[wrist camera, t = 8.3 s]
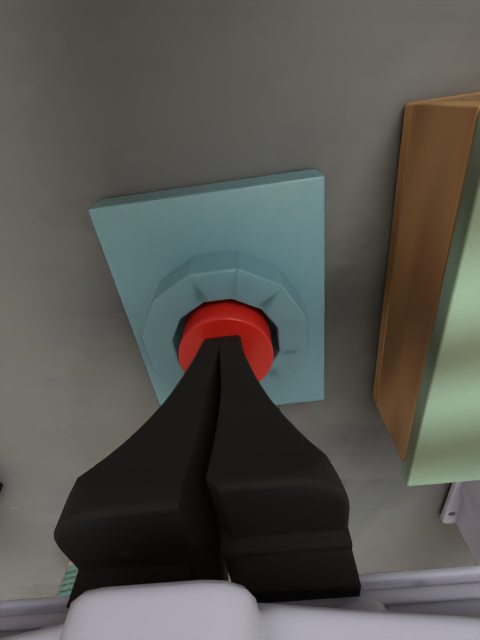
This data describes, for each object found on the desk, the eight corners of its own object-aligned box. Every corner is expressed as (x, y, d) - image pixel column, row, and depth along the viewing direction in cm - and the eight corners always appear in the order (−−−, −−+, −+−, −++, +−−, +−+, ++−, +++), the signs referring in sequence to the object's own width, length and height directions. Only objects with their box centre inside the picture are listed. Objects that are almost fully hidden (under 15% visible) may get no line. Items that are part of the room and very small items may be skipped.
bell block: (318, 380, 19) (332, 427, 16) (168, 396, 20) (158, 444, 17) (316, 168, 13) (338, 186, 10) (100, 198, 14) (67, 224, 11)
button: (272, 359, 15) (277, 387, 14) (193, 368, 16) (189, 397, 14) (265, 288, 13) (269, 312, 12) (174, 299, 14) (167, 324, 12)
